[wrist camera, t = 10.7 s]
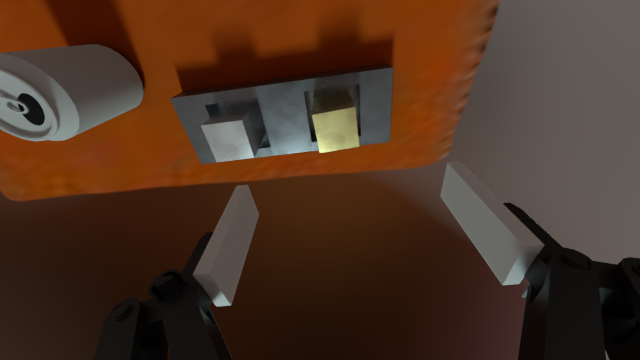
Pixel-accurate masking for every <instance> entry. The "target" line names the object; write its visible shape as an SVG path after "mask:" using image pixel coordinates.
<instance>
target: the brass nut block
mask: <svg viewBox="0 0 640 360" xmlns="http://www.w3.org/2000/svg"><path fill="white" fill-rule="evenodd" d="M312 118H313V123H314V127H315V132H316V137H317V142H318V147H319V151H320V153H324V152H330V151H336V150H342V149H347V148H353V147H359V139H358V129H357V118H356V108H355V105H354V103H353V100H352V98H351V96H350V94H349V91H348V90H347V91H341V92H336V93H331V94H326V95H321V96H316V97H313V106H312Z"/></svg>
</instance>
